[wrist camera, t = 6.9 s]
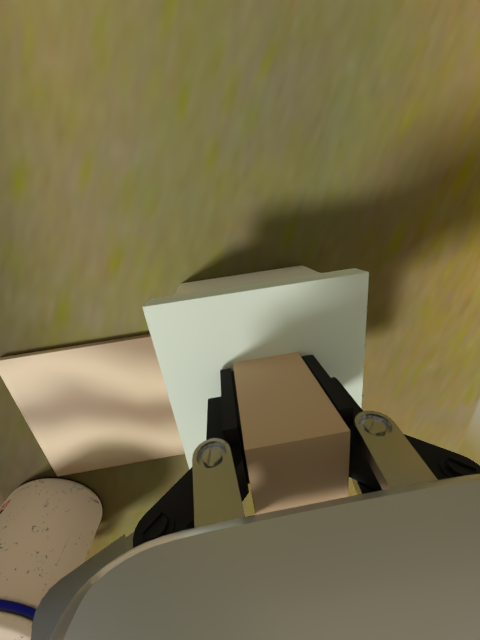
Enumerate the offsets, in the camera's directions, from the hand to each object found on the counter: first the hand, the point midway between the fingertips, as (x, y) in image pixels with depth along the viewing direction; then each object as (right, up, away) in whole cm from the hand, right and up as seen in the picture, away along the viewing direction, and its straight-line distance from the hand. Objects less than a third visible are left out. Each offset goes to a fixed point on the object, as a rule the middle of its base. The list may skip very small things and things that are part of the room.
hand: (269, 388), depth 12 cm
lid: (0, +1, +1) cm, 1 cm away
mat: (-13, -4, +9) cm, 16 cm away
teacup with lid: (-20, -16, +13) cm, 29 cm away
